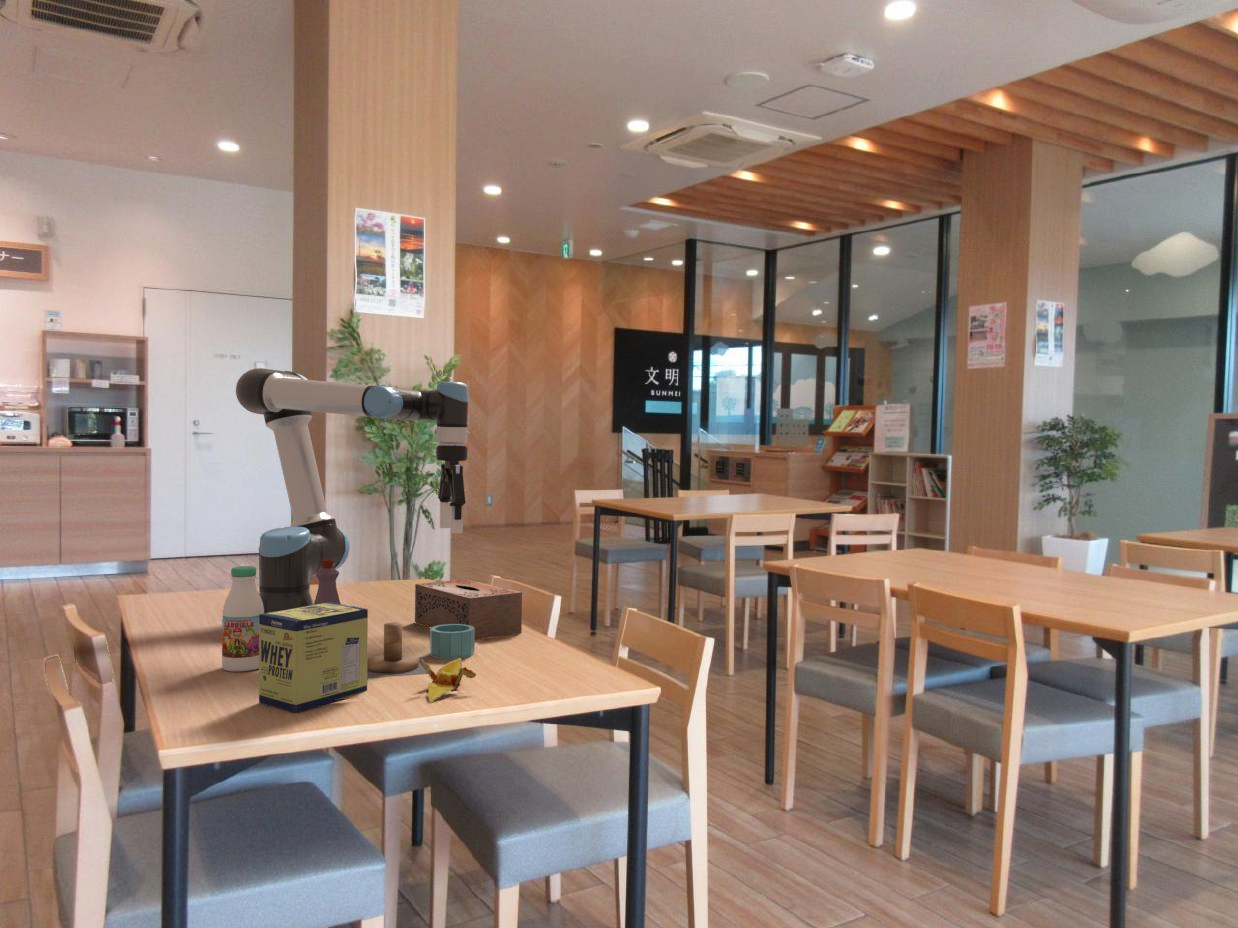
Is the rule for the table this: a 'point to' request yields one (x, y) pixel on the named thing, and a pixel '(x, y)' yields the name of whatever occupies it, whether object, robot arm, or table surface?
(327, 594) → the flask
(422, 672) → the mat
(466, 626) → the teal short cylinder
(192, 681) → the table surface
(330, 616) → the protein box
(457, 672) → the origami crane
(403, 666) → the lid
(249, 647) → the milk bottle
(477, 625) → the tissue box cover
